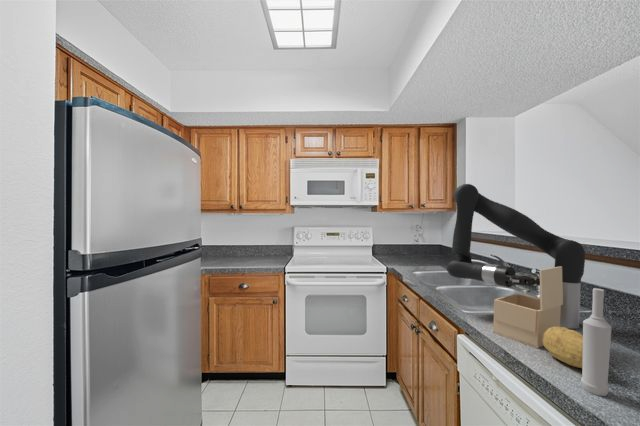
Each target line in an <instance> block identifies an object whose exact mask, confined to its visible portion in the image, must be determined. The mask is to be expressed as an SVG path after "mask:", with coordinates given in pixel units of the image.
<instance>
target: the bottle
mask: <svg viewBox="0 0 640 426" xmlns="http://www.w3.org/2000/svg"><path fill="white" fill-rule="evenodd" d="M604 298H605V289H602V288H597V287H596V288H595V287H594V288H592V306H591V307H592V309H591V315H589V317H587V318H586V319H584V320H583V321H582V335H583V365H582V368H581V369H582V372H581V373H582V377H581V378H580V385H581V388H582V389H583V390H584V391H586V392H587V393H590V394H592V395H596V396H599V397H600V396H601V397H605V396H607V395H608V394H609V391H610V387H609V385H608V384H609V383H608V382H609V369H610V354H611V343H612V342H611V341H612V340H611V339H612V325H610V324H609V323H608V321H606V320H605V317H604Z"/></svg>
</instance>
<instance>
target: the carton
mask: <svg viewBox="0 0 640 426" xmlns="http://www.w3.org/2000/svg"><path fill="white" fill-rule="evenodd" d="M493 300H494V301H493V302H494V303H493V327H492V330H493V331H492V333H493V334H496V335H499V336H502V337H505V338H507V339H510V340H514V341H515V342H518V343H520V344H524V345H527V346H530V347H532V348H535V349H539V348H541V347H543V346H544V345H543V339H542V338H543V335H544V333H545V332H546V330H547V329H549V328H551V327H560V311H561V305H560V306H557V307H554V308H551V309H548V310H545V311H540V297H534V296H531V295H526V294H522V293H515V294H514V293H513V294H511V295H506V296H502V297H498V298H494V299H493ZM544 347H545V346H544Z"/></svg>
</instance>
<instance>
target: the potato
mask: <svg viewBox="0 0 640 426" xmlns="http://www.w3.org/2000/svg"><path fill="white" fill-rule="evenodd" d="M542 339H543V345H544V348H545V349H546V350H547V351H548V352H549V354H550V355H551V356H553V358H555V359H557V360H559V361H561V362H562V363H565V364H567V365H569V366H571V367H574V368H579V369H582V365H583V334H581V333H580V332H578V331H576V330H574V329H570V328H565V327H551V328H549V329H547V330H546V332H545V333H544V335H543V338H542Z"/></svg>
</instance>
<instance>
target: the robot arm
mask: <svg viewBox="0 0 640 426" xmlns="http://www.w3.org/2000/svg"><path fill="white" fill-rule="evenodd" d="M452 197H453V200H454V202H455V203H456V219H455V225H454V230H453V236H452V246H451V252H452V253H453V254H455V255H456V260H451V261H450V262H448V263H447V265H446V272H447V273H448V275H450V276H452V277H453V278H456V279H467V280H476V281H480V282H483V283H488V284H490V285H491V284H492V285H496V286H502V287H506V288H511V287H514V286H516V285H518V286H529V287H533V286H535V287H536V286H539V287H540V275H535V274H532V273H525V272H516V269H514V267H512V266H507V265H502V264H501V265H500V264H494V263H493V264H491V263H490V264H489V263H482V262H473V261H472V256H471V246H472V245H471V244H472V234H473V232H472V231H473V230H472V229H473V220H474V213H477V214H478V215H481V216H482V217H483V218H484V219H486V220H488V221H489V222H490V223H491V224H492V225H493V224H494V225H495V226H497V227H498V228H500V229H501V230H503V231H505V232H507V233H509V234H510V235H512V236H514V237H516V238H519V239H520V240H521V241H524V242H527V243H529V244H532V245H533V246H535V247H537V248H538V249H540V250H541V251H543V252H544V253H545V254H547V255H548V256H549V257H551V258H552V259H554V267H559V266H562V285H563V305H561V311H560V327H565V328H567V329H570V330H574V329H576V330H577V329H579V328H580V316H581V315H580V311H581V286H582V285H581V284H582V278H583V276H584V273H585V263H586V251H585V248H584V247H583V245H582V244H581V243H580V242H578V241H575V240H573V239H568V238H567V239H566V238H563V237H561V236H559V235H556V234H554V233H552V232H550V231H548V230H546V229H545V228H543V227H542V226H540V225H539V224H538V223H536V222H535V220H533V219H532V218H530V217H529V216H527V215H525V214H524V213H522V212H520V211H518V210H517V209H514V208H513V207H510V206H508V205H506V204H505V205H504V204H503V203H500V202H496V201H494V200H492V199H489V198H488V197H485V196H484V194H483V195H482V194H481V193H480V192H479V190H478V189H477V187H476V186H475V185H473V184H472V183H464V184H460V185H459V186H458V187H456V189H454V191H453V194H452Z"/></svg>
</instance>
